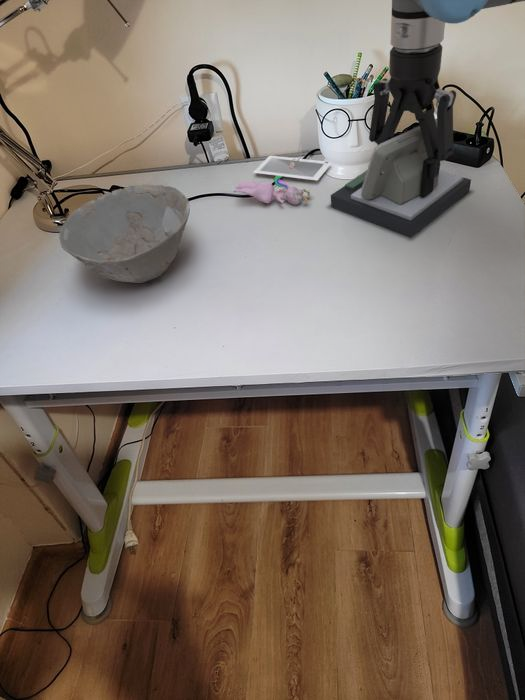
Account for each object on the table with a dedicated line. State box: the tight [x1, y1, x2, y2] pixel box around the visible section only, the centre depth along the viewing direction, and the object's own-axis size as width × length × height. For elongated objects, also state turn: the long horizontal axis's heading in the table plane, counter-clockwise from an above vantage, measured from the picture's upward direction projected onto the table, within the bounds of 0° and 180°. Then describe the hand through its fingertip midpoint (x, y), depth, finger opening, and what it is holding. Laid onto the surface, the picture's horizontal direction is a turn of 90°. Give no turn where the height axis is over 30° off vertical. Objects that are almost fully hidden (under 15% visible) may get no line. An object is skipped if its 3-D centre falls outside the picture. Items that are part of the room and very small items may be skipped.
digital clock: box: [362, 118, 439, 204], centre depth 87 cm, size 16×9×11 cm, turn 111°
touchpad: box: [252, 155, 328, 181], centre depth 108 cm, size 8×15×2 cm, turn 62°
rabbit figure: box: [233, 175, 311, 206], centre depth 99 cm, size 6×6×15 cm
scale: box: [330, 169, 472, 239], centre depth 94 cm, size 18×18×3 cm
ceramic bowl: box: [58, 184, 191, 284], centre depth 88 cm, size 22×23×10 cm
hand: (406, 187), depth 91 cm, fingers closed on digital clock, 8 cm apart
